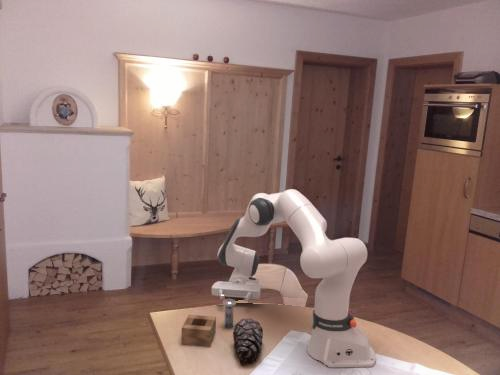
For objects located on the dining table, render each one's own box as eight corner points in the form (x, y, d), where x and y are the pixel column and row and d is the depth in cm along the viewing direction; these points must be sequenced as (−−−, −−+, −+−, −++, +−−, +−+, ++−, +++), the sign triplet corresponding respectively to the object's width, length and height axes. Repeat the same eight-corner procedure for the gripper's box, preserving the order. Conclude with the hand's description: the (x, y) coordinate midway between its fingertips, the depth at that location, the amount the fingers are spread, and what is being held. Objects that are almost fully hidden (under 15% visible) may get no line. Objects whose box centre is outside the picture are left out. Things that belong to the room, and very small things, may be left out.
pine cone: (236, 369, 140) (237, 339, 138) (231, 339, 158) (231, 313, 156) (269, 367, 142) (270, 338, 140) (260, 338, 159) (261, 312, 157)
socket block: (215, 332, 162) (215, 316, 161) (210, 346, 153) (210, 330, 152) (188, 329, 163) (188, 314, 162) (181, 344, 154) (181, 327, 153)
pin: (236, 323, 169) (236, 299, 167) (234, 330, 164) (234, 304, 162) (223, 322, 169) (224, 298, 168) (221, 329, 165) (221, 303, 163)
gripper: (214, 275, 192) (208, 288, 178) (262, 279, 190) (259, 292, 176) (214, 289, 193) (207, 303, 179) (261, 293, 191) (258, 307, 177)
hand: (233, 298), depth 178 cm, fingers open, 8 cm apart
